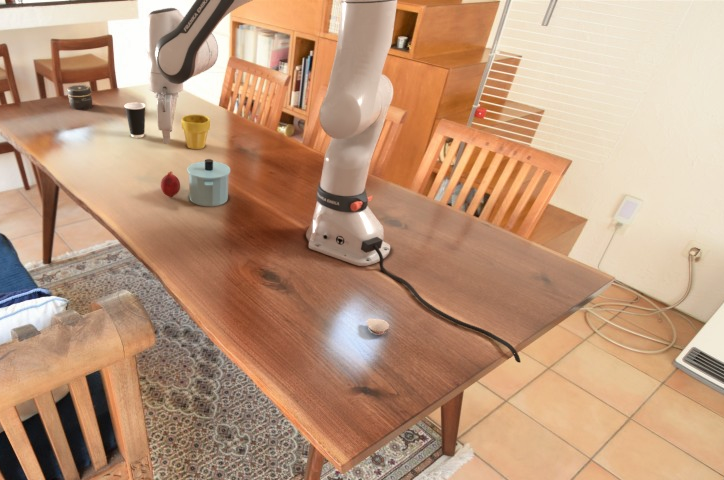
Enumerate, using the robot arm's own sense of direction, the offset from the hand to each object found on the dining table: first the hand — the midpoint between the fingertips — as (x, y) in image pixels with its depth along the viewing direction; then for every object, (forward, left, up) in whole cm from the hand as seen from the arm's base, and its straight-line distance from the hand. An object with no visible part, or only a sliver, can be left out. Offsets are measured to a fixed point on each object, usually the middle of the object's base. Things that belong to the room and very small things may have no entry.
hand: (168, 136), depth 137 cm
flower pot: (+28, -34, -18) cm, 48 cm away
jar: (+97, -27, -18) cm, 103 cm away
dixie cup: (+51, -24, -18) cm, 60 cm away
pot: (-8, -8, -18) cm, 21 cm away
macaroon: (-78, +8, -18) cm, 80 cm away
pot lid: (-8, -8, -10) cm, 15 cm away
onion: (0, 0, -18) cm, 18 cm away
